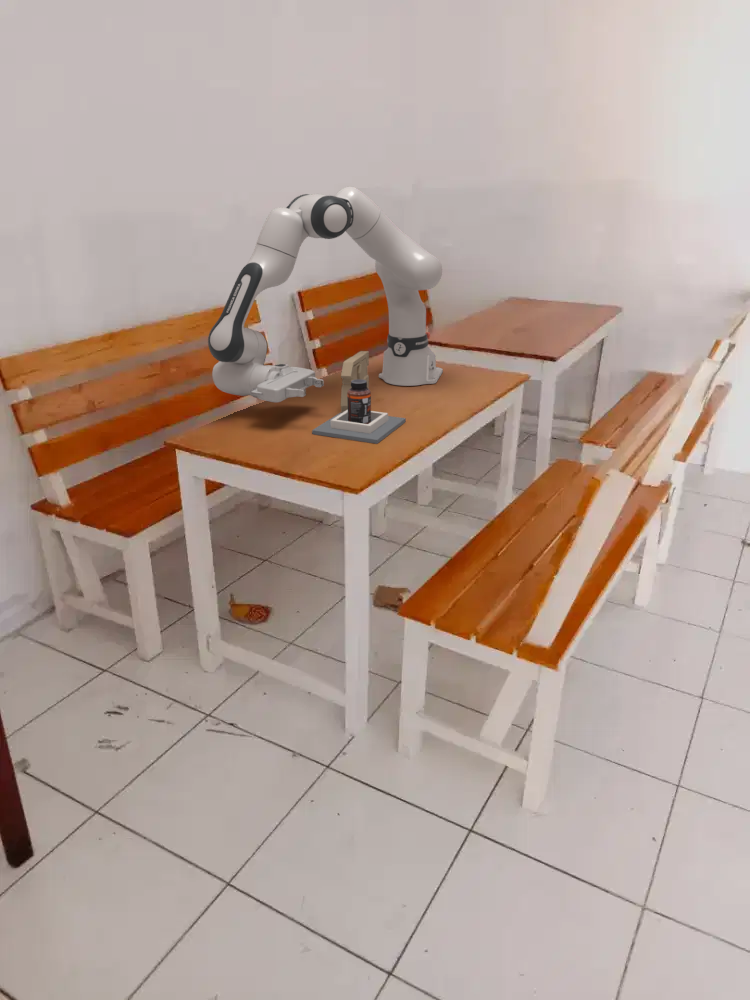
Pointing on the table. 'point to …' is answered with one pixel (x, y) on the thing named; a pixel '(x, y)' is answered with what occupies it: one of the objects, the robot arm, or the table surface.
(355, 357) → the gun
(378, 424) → the holder
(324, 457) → the table surface
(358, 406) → the supplement bottle
